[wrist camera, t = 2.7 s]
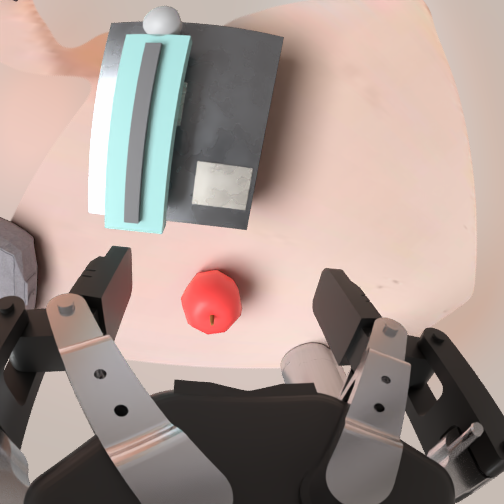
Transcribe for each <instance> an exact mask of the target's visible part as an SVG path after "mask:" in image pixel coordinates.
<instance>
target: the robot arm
mask: <svg viewBox="0 0 504 504" xmlns="http://www.w3.org/2000/svg"><path fill="white" fill-rule="evenodd" d="M131 291H132V254H131V248H128V247H119V246H112V247H111V248H110V250H109V251H108V253H107V254H106V256H105V257H101V256H99V257H97V258H96V259H94V260H93V261H91V262H90V263H89V264H88V266H87V267H86V269H85V270H84V271H83V273H82V274H81V276H80V277H79V279H78V280H77V281H76V283H75V284H74V286H73V287H72V289H71V290H70V292H69V293H67V294H61V295H58V296H56V297H54V298H52V299H51V300H50V301H49V302H48V304H47V306H46V309H29V310H26V306H25V302H24V301H23V299H22V298H20V297H18V296H6V297H3V298H1V299H0V504H455V503H457V502H459V501H461V500H463V499H464V498H466V497H468V496H469V495H471V494H472V493H474V492H475V491H477V490H478V489H480V488H481V487H483V486H484V485H485V484H487V483H488V482H490V481H491V480H492V479H494V478H495V477H497V476H498V475H499V474H500V473H502V472H503V471H504V416H503V414H502V412H501V411H500V409H499V408H498V406H497V405H496V403H495V402H494V400H493V398H492V397H491V395H490V394H489V392H488V391H487V389H486V388H485V386H484V385H483V384H482V382H481V381H480V379H479V378H478V376H477V375H476V374H475V372H474V371H473V369H472V368H471V367H470V365H469V364H468V363H467V361H466V360H465V358H464V357H463V356H462V354H461V353H460V352H459V350H458V349H457V348H456V346H455V345H454V344H453V343H452V342H451V340H450V339H449V337H448V336H447V335H446V334H444V333H443V332H441V331H440V330H437V329H435V328H426V329H425V330H424V331H423V333H422V335H421V337H420V338H419V337H414V336H409V335H407V331H406V329H405V328H404V327H403V326H402V325H401V324H400V323H398V322H396V321H395V320H392V319H389V318H382V317H381V315H380V314H379V312H378V311H377V310H376V308H375V307H374V306H373V304H372V303H371V302H370V300H369V299H368V298H367V296H365V294H364V292H363V291H362V290H361V288H360V287H358V286H357V285H356V284H354V283H353V282H352V281H350V279H349V278H348V277H347V275H346V274H345V273H344V271H343V270H341V269H330V268H325V269H324V270H323V271H322V274H321V277H320V280H319V283H318V286H317V289H316V292H315V295H314V299H313V312H314V315H315V317H316V319H317V321H318V323H319V325H320V327H321V329H322V331H323V334H324V336H325V338H326V340H327V342H328V344H329V346H330V349H328V348H327V347H326V346H324V345H322V344H318V343H309V344H304V345H300V346H298V347H296V348H294V349H292V350H291V351H289V352H288V353H287V354H286V355H285V356H284V358H283V359H282V361H281V370H282V375H283V378H284V382H285V384H279V385H276V386H271V387H266V388H262V389H257V390H252V391H244V390H240V389H236V388H231V387H227V386H223V385H218V384H215V383H210V382H197V381H185V380H175V382H174V390H169V391H163V392H159V393H155V394H152V395H149V394H148V393H147V391H146V390H145V388H144V387H143V386H142V384H141V383H140V381H139V380H138V378H137V377H136V375H135V374H134V373H133V371H132V370H131V368H130V366H129V365H128V363H127V362H126V360H125V359H124V357H123V356H122V354H121V352H120V351H119V349H118V348H117V346H116V344H115V343H114V340H115V337H116V334H117V332H118V329H119V326H120V323H121V320H122V318H123V315H124V312H125V310H126V307H127V304H128V302H129V299H130V296H131ZM8 359H10V360H9V362H8V364H7V366H6V368H5V370H4V367H5V365H6V363H7V361H8ZM344 365H351V369H350V371H349V372H348V374H347V376H346V374H345V372H344V370H343V368H342V366H344ZM51 371H66V373H67V376H68V378H69V381H70V383H71V386H72V388H73V390H74V393H75V395H76V397H77V399H78V401H79V404H80V406H81V408H82V410H83V412H84V414H85V416H86V418H87V420H88V422H89V424H90V426H91V428H92V430H93V432H94V434H95V435H94V436H93V437H92V438H91V439H89V440H88V441H87V442H85V443H84V444H83V445H81V446H80V447H79V448H77V449H76V450H75V451H73V452H72V453H70V454H69V455H68V456H67V457H65V458H64V459H62V460H61V461H60V462H58V463H57V464H55V465H54V466H53V467H51V468H50V469H48V470H47V471H46V472H44V473H43V474H41V475H40V476H39V477H37V478H36V479H35V480H34V481H33V482H32V483H31V485H30V482H29V478H28V463H27V460H26V458H25V456H24V454H23V453H22V452H21V451H20V449H21V445H22V441H23V438H24V434H25V430H26V426H27V423H28V420H29V417H30V413H31V410H32V407H33V404H34V401H35V398H36V395H37V392H38V390H39V387H40V384H41V381H42V379H43V376H44V373H45V372H51ZM434 372H435V373H436V375H437V377H438V378H439V380H440V381H441V383H442V385H443V393H442V395H441V397H440V398H439V399H438V400H436V398H435V397H434V395H433V393H432V391H431V390H430V388H429V386H428V384H427V382H428V380H429V379H430V378H431V376H432V375H433V373H434ZM405 411H406V413H407V415H408V417H409V419H410V421H411V423H412V425H413V428H414V430H415V432H416V434H417V436H418V439H419V441H420V443H421V445H422V448H423V450H424V452H425V454H426V455H424V454H423V453H421V452H419V451H418V450H416V449H415V448H413V447H411V446H410V445H408V444H407V443H405V442H403V441H402V440H400V434H401V429H402V424H403V419H404V413H405Z"/></svg>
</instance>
